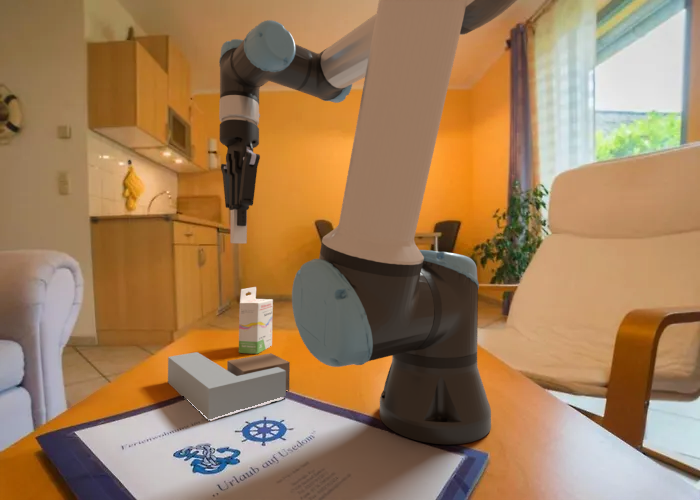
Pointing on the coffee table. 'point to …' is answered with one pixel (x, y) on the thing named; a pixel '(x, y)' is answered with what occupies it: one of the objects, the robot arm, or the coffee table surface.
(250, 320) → the ink box
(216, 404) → the gray l-shaped block
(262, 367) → the walnut block
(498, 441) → the coffee table surface
